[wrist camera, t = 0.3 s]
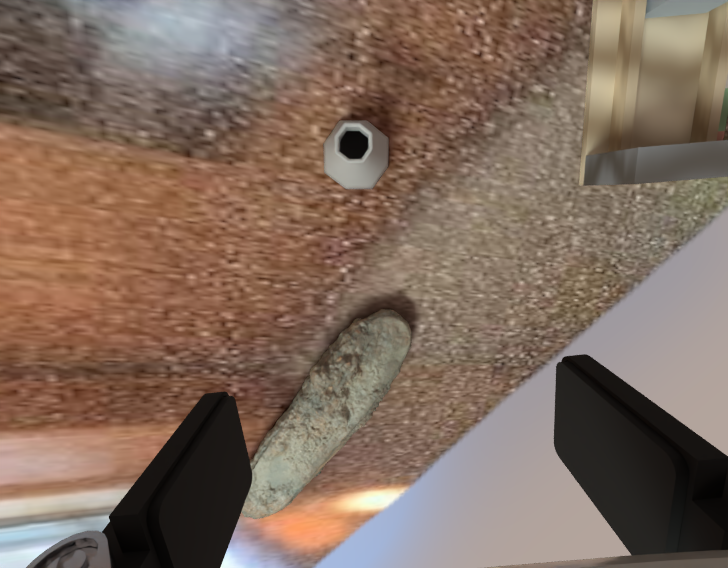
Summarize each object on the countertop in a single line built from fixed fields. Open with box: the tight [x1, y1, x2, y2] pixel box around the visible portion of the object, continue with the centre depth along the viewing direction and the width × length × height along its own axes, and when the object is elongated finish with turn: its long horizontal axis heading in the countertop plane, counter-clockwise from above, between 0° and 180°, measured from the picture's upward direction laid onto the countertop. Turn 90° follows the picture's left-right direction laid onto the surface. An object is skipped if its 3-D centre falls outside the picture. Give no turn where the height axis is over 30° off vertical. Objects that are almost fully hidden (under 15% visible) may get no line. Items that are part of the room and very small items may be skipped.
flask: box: [323, 120, 389, 189], centre depth 32 cm, size 7×7×10 cm
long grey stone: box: [242, 309, 412, 519], centre depth 44 cm, size 35×5×10 cm
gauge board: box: [579, 0, 728, 186], centre depth 31 cm, size 22×14×8 cm, turn 5°
